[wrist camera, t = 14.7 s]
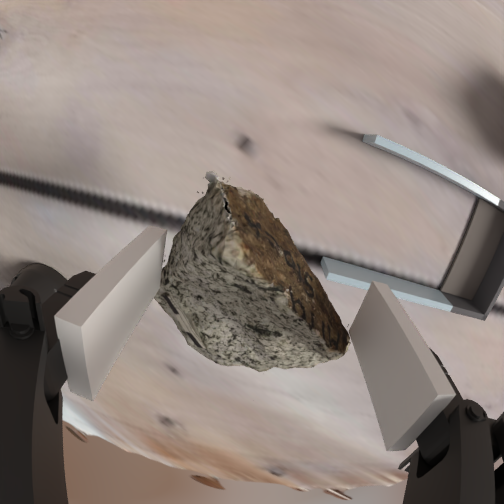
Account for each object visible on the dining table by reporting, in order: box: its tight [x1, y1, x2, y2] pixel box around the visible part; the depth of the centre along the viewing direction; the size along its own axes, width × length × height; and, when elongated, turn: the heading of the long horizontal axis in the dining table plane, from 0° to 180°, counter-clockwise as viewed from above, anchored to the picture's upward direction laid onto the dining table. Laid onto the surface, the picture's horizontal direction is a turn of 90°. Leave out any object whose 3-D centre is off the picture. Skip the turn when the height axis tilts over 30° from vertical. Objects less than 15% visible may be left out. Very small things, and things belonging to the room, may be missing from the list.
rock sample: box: [154, 172, 351, 401], centre depth 13 cm, size 10×8×9 cm
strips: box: [321, 134, 500, 312], centre depth 28 cm, size 17×15×4 cm
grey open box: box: [440, 198, 504, 321], centre depth 29 cm, size 8×15×4 cm, turn 165°
